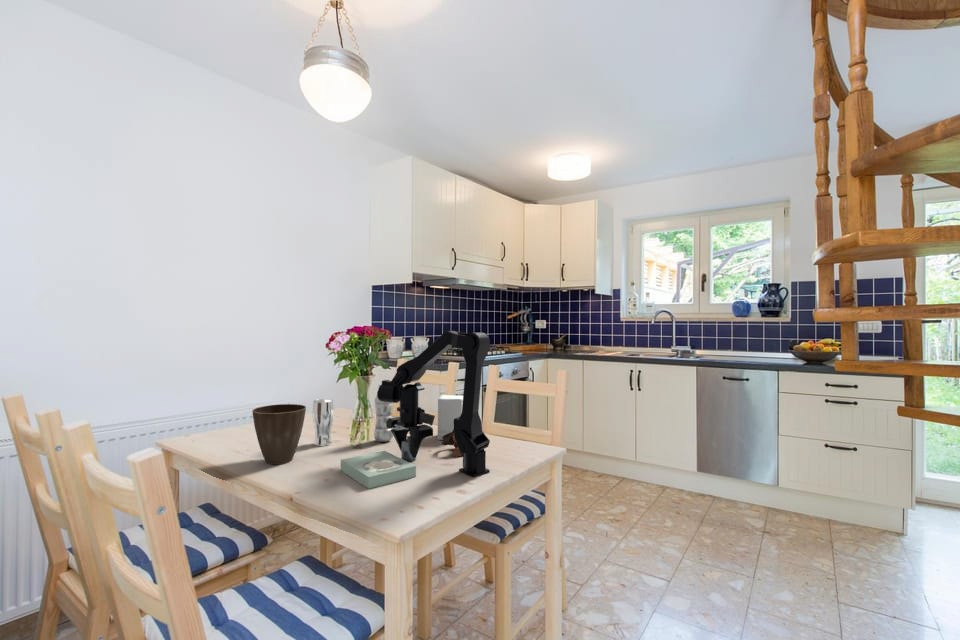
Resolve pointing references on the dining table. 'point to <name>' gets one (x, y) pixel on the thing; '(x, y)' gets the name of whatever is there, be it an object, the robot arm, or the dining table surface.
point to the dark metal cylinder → (406, 451)
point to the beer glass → (323, 421)
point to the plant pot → (278, 431)
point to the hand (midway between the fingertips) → (408, 454)
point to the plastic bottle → (382, 420)
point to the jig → (378, 469)
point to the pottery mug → (451, 443)
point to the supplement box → (448, 413)
